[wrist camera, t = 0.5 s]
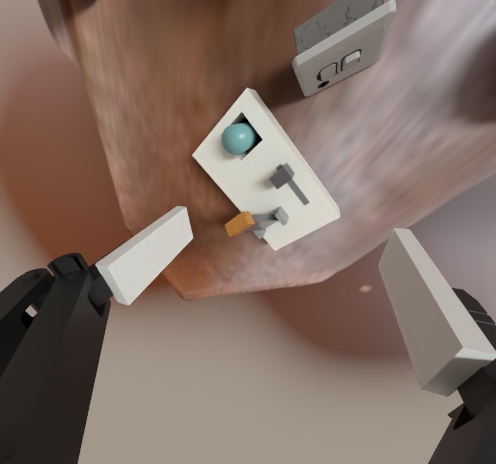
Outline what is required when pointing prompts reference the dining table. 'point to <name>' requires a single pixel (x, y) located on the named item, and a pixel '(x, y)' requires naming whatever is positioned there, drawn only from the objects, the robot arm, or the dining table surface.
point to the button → (238, 138)
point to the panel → (267, 175)
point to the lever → (249, 223)
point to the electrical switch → (341, 42)
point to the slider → (282, 176)
